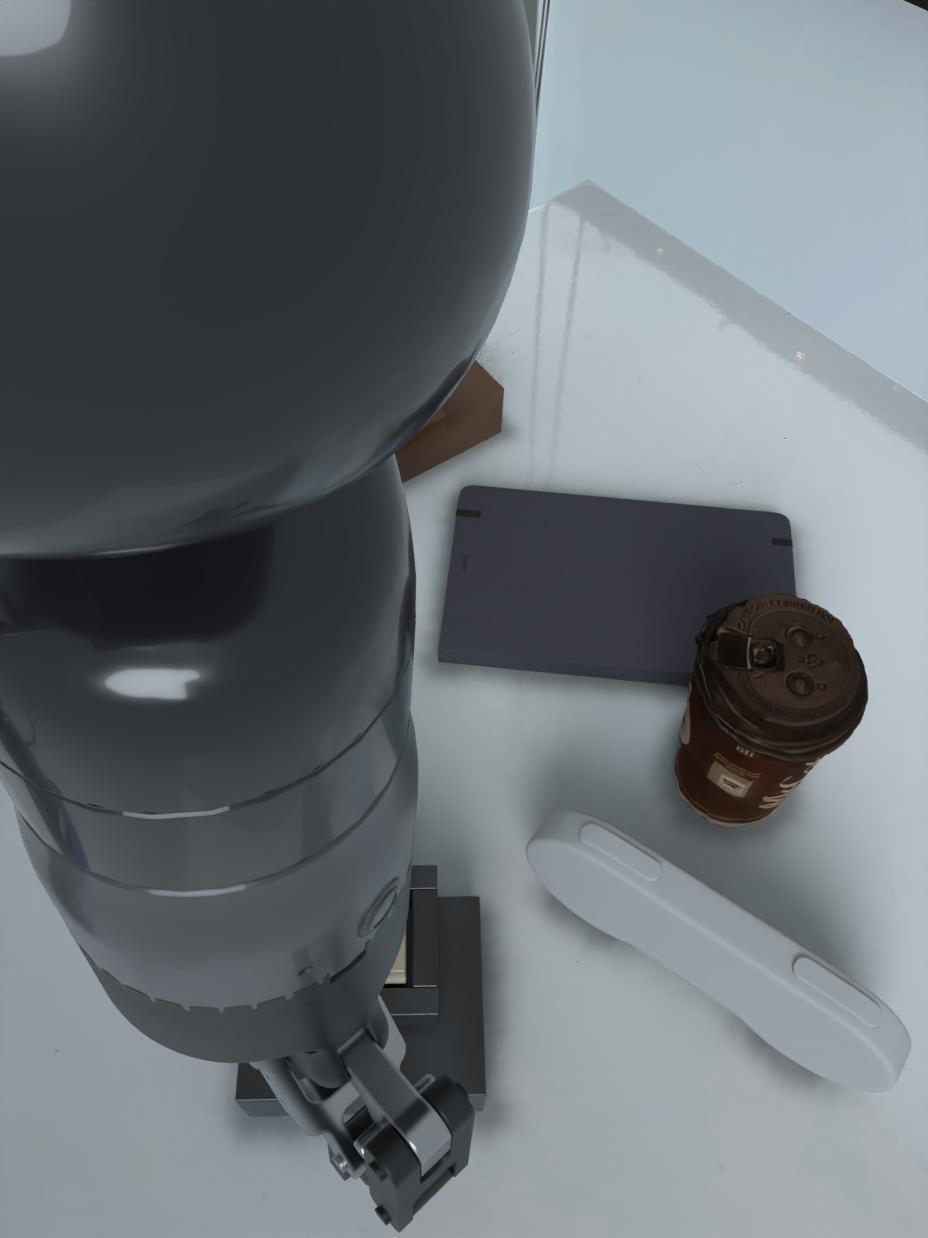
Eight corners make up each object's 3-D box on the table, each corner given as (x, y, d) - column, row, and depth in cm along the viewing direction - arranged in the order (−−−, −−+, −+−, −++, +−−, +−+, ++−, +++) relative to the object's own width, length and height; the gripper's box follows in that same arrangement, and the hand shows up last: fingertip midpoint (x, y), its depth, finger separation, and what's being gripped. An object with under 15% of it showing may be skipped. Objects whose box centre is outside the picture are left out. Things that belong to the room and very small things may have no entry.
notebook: (437, 662, 65) (796, 697, 64) (437, 648, 63) (804, 684, 62) (459, 498, 72) (783, 528, 71) (460, 483, 70) (790, 513, 69)
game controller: (879, 1066, 52) (946, 1027, 46) (859, 1108, 51) (925, 1074, 44) (542, 844, 58) (555, 779, 51) (518, 878, 57) (529, 816, 50)
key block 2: (358, 524, 70) (352, 462, 65) (272, 419, 75) (260, 354, 70) (512, 443, 74) (517, 379, 69) (420, 348, 79) (419, 282, 74)
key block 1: (248, 1117, 51) (227, 1094, 46) (265, 908, 56) (247, 867, 51) (483, 1111, 51) (487, 1088, 46) (476, 904, 56) (480, 863, 51)
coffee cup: (618, 766, 61) (657, 644, 50) (713, 680, 64) (769, 548, 53) (739, 877, 58) (809, 771, 47) (833, 780, 61) (919, 661, 50)
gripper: (-100, 695, 24) (65, 954, 37) (299, 1253, 18) (327, 1326, 31) (191, 533, 27) (248, 823, 40) (606, 959, 21) (515, 1136, 34)
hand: (282, 1042), depth 35 cm, fingers open, 8 cm apart
